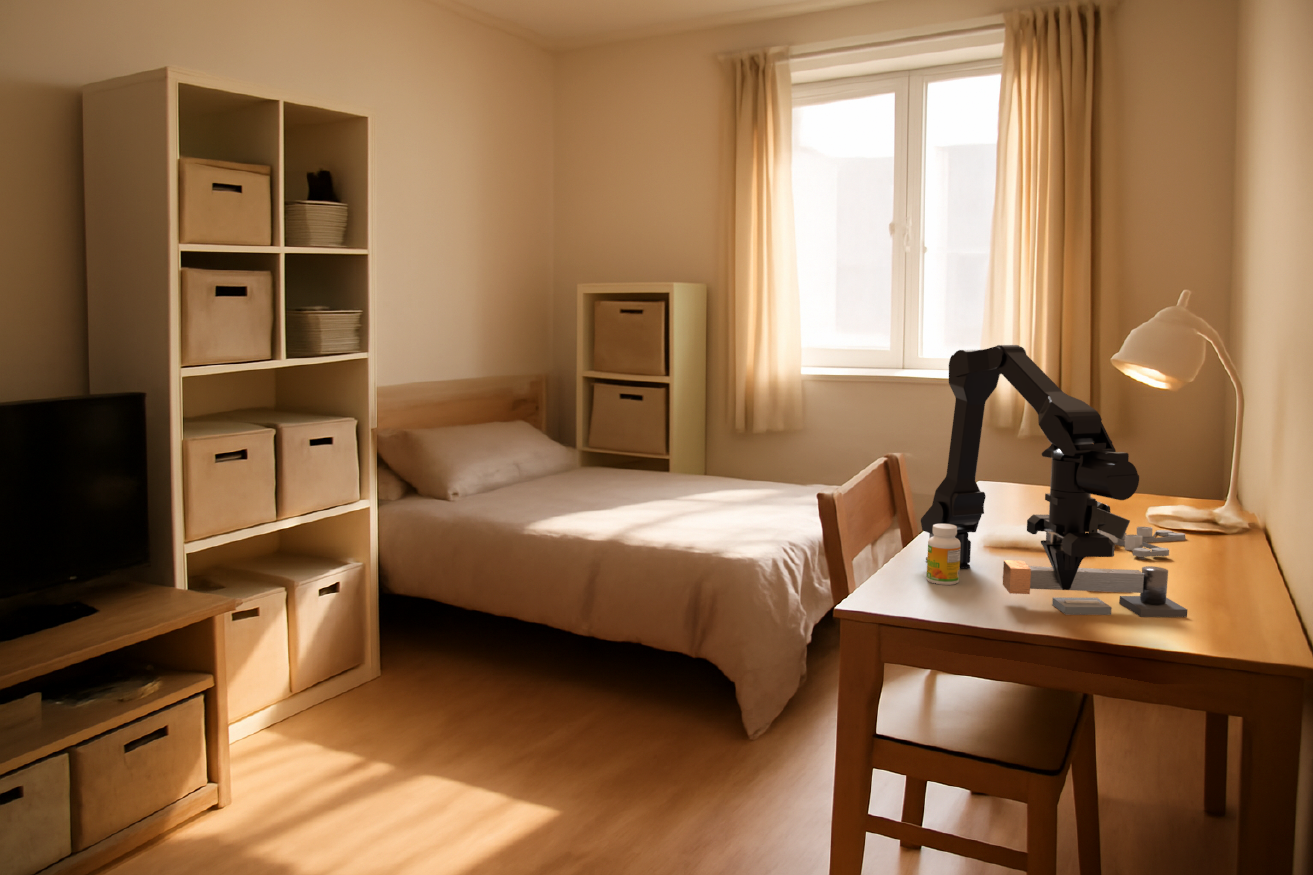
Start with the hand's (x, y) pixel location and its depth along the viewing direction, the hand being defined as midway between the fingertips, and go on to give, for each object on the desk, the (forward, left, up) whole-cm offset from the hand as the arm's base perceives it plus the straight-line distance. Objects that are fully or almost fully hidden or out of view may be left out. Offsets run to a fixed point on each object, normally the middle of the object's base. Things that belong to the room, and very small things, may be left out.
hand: (1065, 589), depth 148 cm
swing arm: (+4, +2, -2) cm, 5 cm away
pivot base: (+14, +1, -4) cm, 15 cm away
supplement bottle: (-14, +17, -4) cm, 22 cm away
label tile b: (+3, +1, -4) cm, 5 cm away
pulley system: (+33, +45, -4) cm, 56 cm away
